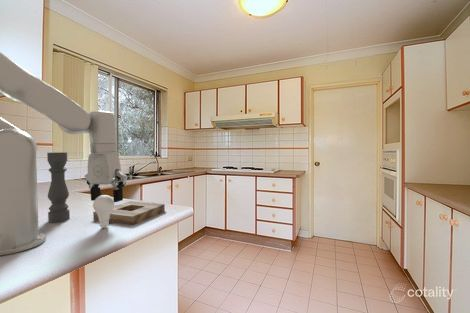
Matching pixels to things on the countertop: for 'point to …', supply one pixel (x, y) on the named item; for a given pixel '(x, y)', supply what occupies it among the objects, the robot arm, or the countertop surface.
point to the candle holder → (58, 188)
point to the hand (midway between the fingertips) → (107, 200)
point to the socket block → (133, 212)
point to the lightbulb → (103, 209)
